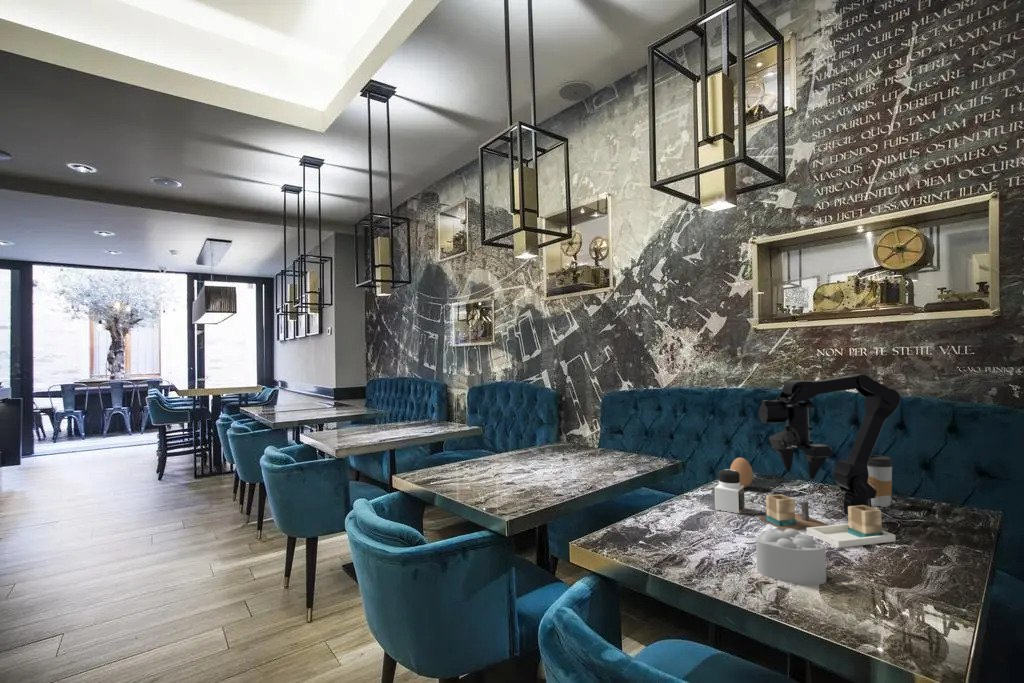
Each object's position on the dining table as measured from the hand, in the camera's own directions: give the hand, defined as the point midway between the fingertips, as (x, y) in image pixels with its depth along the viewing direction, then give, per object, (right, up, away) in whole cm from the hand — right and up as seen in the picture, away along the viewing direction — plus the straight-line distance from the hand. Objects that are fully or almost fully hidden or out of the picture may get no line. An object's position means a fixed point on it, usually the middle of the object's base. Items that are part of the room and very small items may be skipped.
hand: (799, 475), depth 147 cm
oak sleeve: (-10, -11, -9) cm, 17 cm away
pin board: (-6, -12, -8) cm, 16 cm away
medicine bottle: (-18, -13, +7) cm, 23 cm away
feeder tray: (+2, -11, -19) cm, 23 cm away
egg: (-3, -13, +31) cm, 34 cm away
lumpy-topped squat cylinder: (-24, -12, -38) cm, 47 cm away
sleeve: (+6, -11, -19) cm, 22 cm away
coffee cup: (+30, -12, +9) cm, 33 cm away
